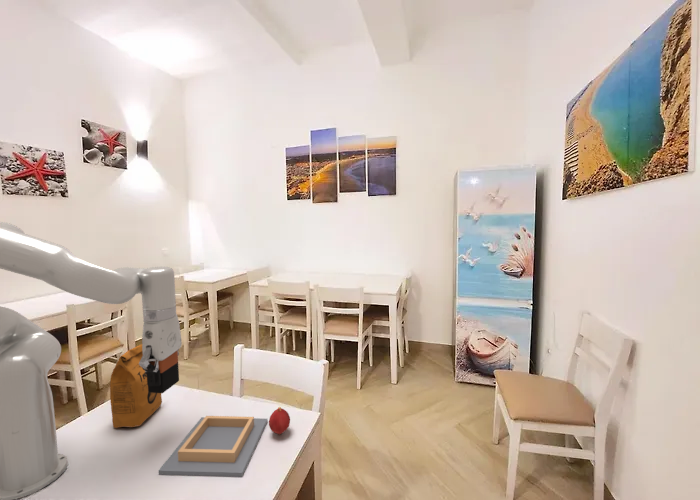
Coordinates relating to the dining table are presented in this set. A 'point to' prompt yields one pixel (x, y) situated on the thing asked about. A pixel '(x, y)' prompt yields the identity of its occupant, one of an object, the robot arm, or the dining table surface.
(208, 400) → the dining table surface
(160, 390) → the battery
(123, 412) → the coffee package
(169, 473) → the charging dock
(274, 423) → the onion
